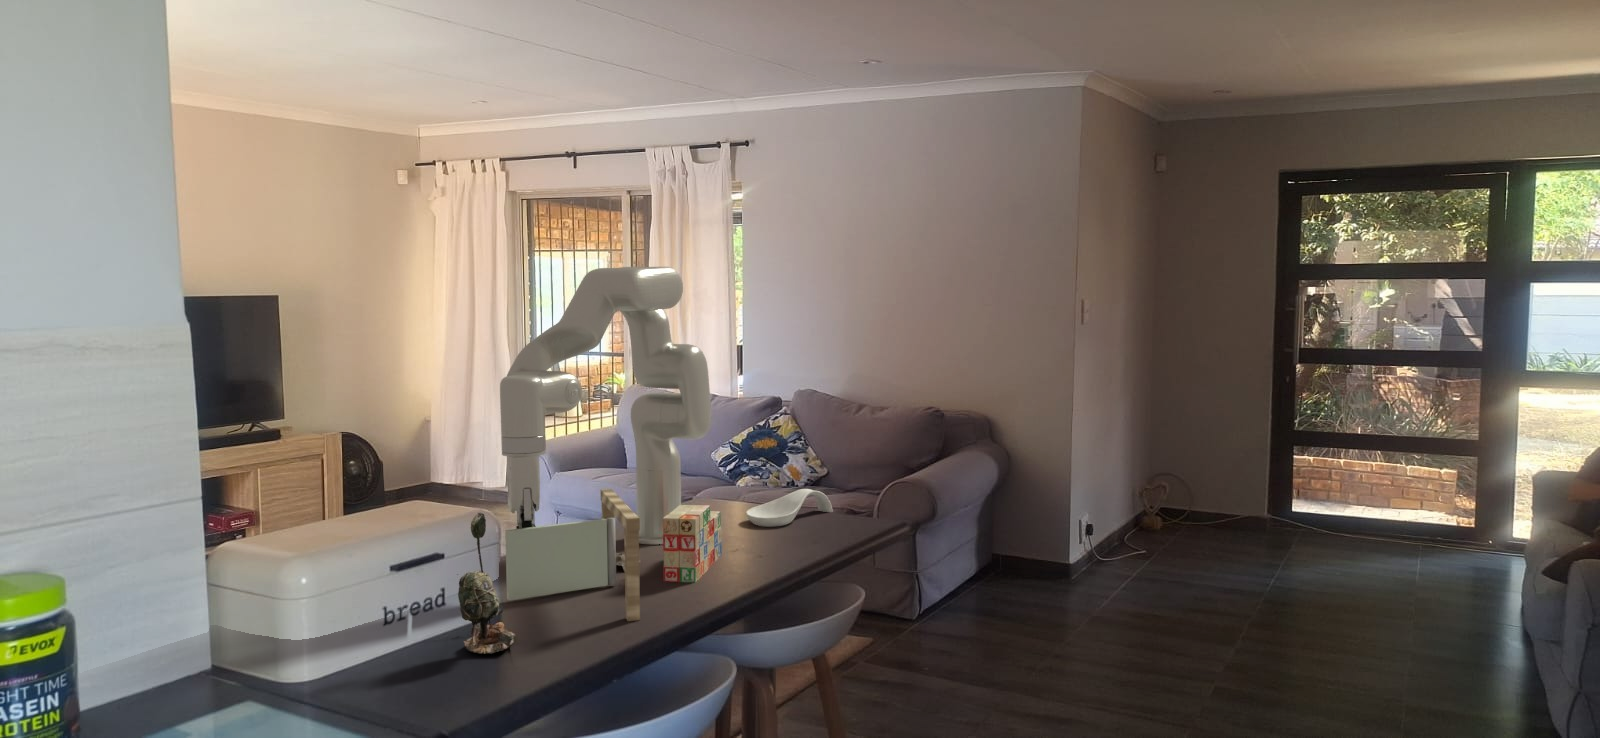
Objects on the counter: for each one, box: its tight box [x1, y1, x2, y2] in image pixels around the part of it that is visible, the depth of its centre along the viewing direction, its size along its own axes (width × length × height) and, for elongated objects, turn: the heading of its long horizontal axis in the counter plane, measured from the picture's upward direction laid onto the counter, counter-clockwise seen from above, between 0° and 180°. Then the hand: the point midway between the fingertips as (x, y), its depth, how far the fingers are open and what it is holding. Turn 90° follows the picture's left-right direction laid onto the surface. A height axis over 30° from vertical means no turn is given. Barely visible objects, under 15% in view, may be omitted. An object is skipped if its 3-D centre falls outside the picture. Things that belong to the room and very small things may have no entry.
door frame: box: [599, 488, 641, 622], centre depth 188 cm, size 28×2×17 cm, turn 19°
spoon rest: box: [745, 488, 834, 528], centre depth 253 cm, size 24×12×7 cm, turn 135°
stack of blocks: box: [662, 504, 723, 583], centre depth 210 cm, size 21×6×12 cm, turn 171°
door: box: [504, 517, 617, 601], centre depth 192 cm, size 20×2×12 cm, turn 122°
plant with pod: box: [456, 512, 516, 654], centre depth 163 cm, size 8×11×20 cm
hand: (526, 548), depth 192 cm, fingers closed
